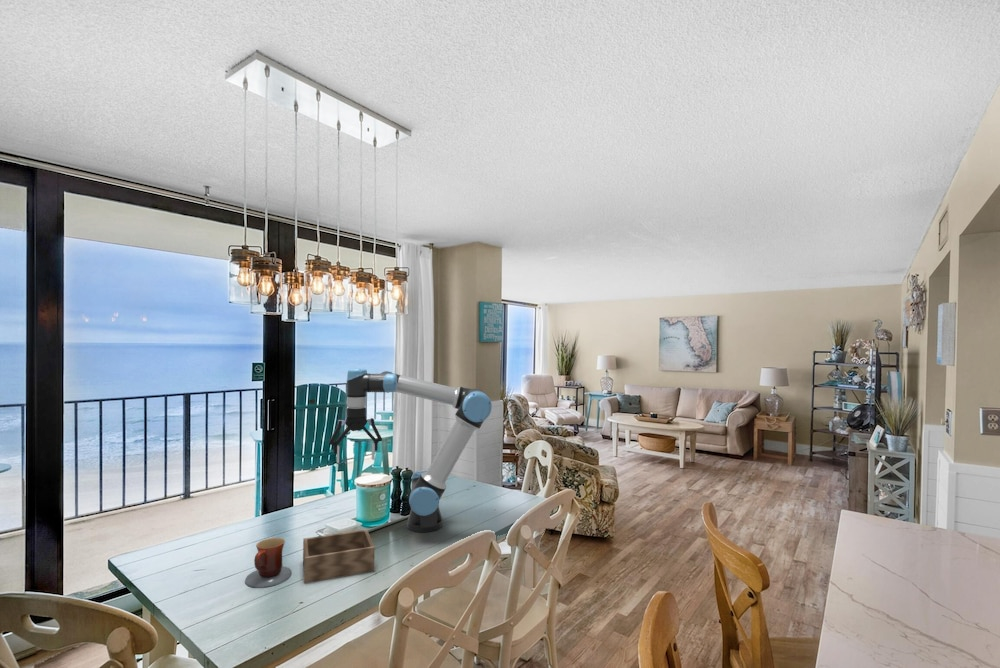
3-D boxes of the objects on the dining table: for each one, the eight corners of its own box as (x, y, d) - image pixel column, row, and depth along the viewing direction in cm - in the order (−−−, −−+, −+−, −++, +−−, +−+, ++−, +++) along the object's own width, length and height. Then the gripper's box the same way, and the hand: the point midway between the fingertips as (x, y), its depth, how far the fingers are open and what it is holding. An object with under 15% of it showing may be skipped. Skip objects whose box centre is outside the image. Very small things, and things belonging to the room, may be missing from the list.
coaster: (291, 564, 170) (291, 563, 170) (291, 582, 157) (291, 581, 157) (246, 572, 164) (247, 570, 164) (243, 591, 152) (243, 589, 152)
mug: (266, 566, 167) (267, 536, 167) (289, 568, 166) (290, 538, 166) (243, 583, 155) (243, 551, 155) (267, 585, 154) (268, 553, 154)
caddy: (366, 550, 182) (367, 529, 182) (374, 570, 166) (374, 547, 166) (303, 560, 173) (303, 538, 173) (304, 583, 157) (304, 558, 157)
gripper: (386, 404, 201) (385, 455, 200) (322, 407, 191) (321, 461, 190) (389, 407, 194) (388, 459, 193) (323, 409, 184) (323, 465, 183)
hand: (355, 460), depth 192 cm, fingers open, 13 cm apart
